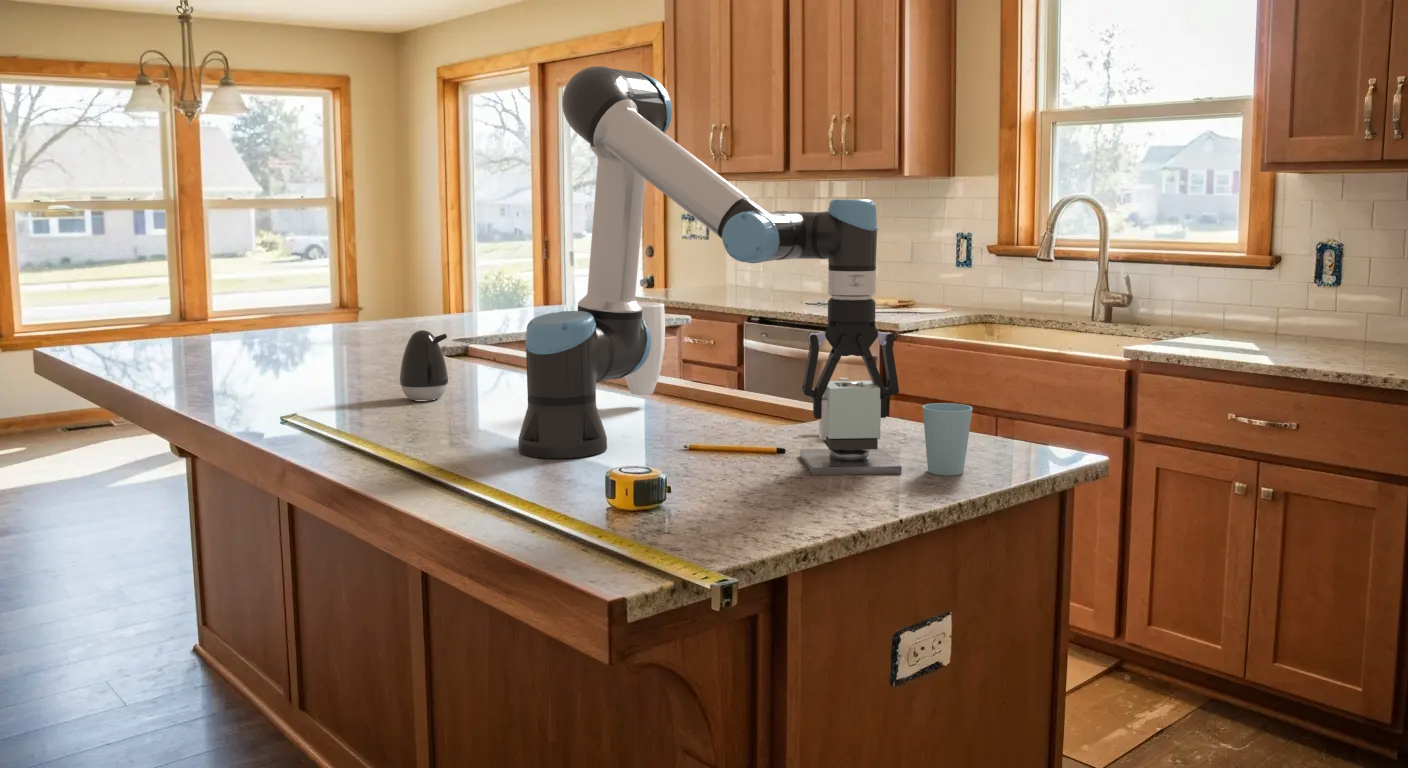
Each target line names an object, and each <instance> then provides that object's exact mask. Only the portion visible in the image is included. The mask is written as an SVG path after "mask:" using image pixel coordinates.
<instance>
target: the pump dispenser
mask: <svg viewBox="0 0 1408 768" xmlns="http://www.w3.org/2000/svg"><path fill="white" fill-rule="evenodd" d="M447 338H448V335H447V333H443V334H440V335H437V336H434V335H433V334H432V332H430V331H428V330H426V329H421V330H420V329H419V330H417V331H415V332H414V333H412V335H411V336H410V337H409V339H408V341H407V344H406V346H405V349H404V352H403V355H402V360H401V366H400V372H399V384H400V386H401V388H402V391H403V393H404V395H405V396H406V397H407V398H408V399H410V400H412V401H413V400H433V399H437V400H439V399H440V398H441V397H443V395H444V394H445V392H446V390H447V384H449V376H448V375H449V374H448V369H447V365H446V359H445V357H444V354H443V352H442V351H443V350H442V349H441V347H440V346H441V345H440V344H439V343H440V342H442V341H444V340H445V339H447Z"/></svg>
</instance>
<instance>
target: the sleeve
mask: <svg viewBox="0 0 1408 768" xmlns="http://www.w3.org/2000/svg"><path fill="white" fill-rule="evenodd" d="M857 381H858V382H860V387H840V382H842V381H839V380H830V381H829V383H828V385H827V388H826V390H825V392H824V394H823V397H824V398H825V399H826V400H827V425H826V436H827V437H828V438H829V439H843V438H879V423H880V388H879V387H878V386H877V385H875V384H874V383H873V382H872V380H857ZM880 424H881V423H880Z"/></svg>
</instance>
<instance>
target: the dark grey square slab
mask: <svg viewBox="0 0 1408 768" xmlns="http://www.w3.org/2000/svg"><path fill="white" fill-rule="evenodd" d="M878 440H879V439H877V438H843V439H829V438H828V437H827V436H826V440H821V441H822V442H823V443H824V445H825V446H826V447H827V449H830V450H862V449H877V448H879V447H878Z"/></svg>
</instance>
